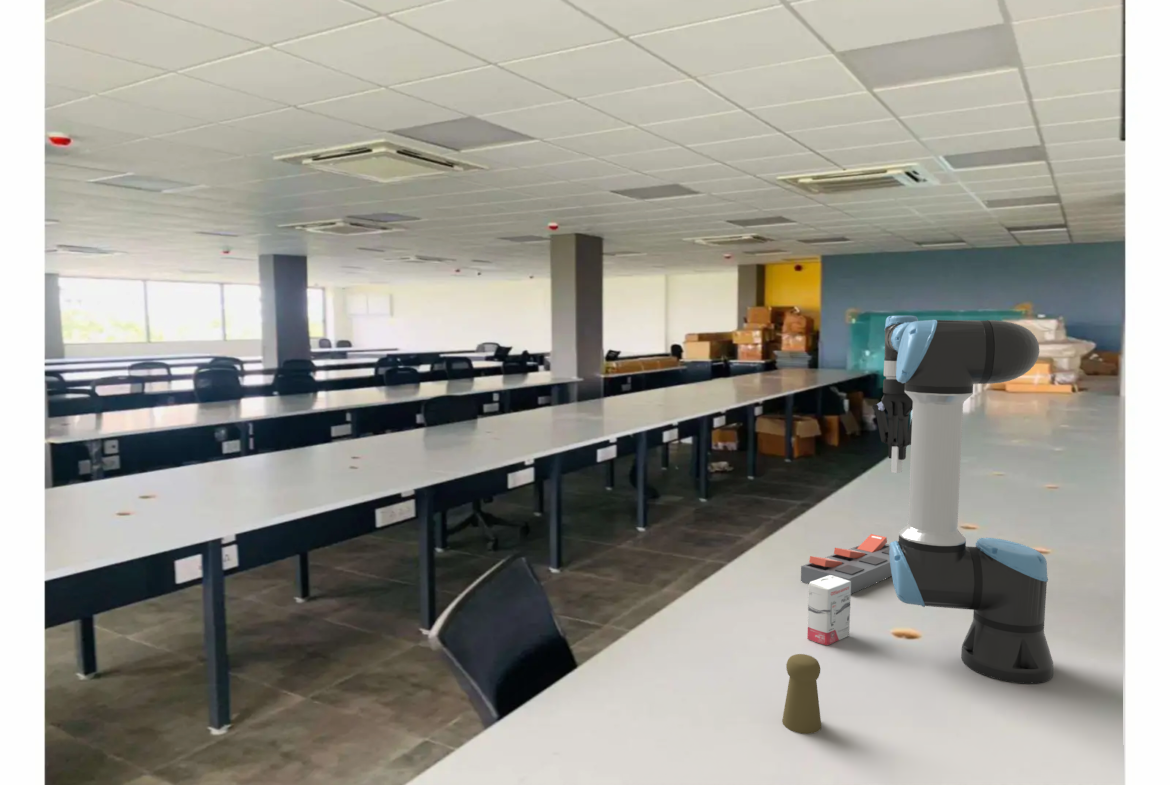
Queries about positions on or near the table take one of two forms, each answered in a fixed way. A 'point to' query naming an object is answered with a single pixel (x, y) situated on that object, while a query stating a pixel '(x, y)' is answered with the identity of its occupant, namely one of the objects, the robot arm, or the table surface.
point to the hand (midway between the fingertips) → (896, 472)
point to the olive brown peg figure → (802, 695)
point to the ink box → (828, 609)
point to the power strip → (853, 568)
